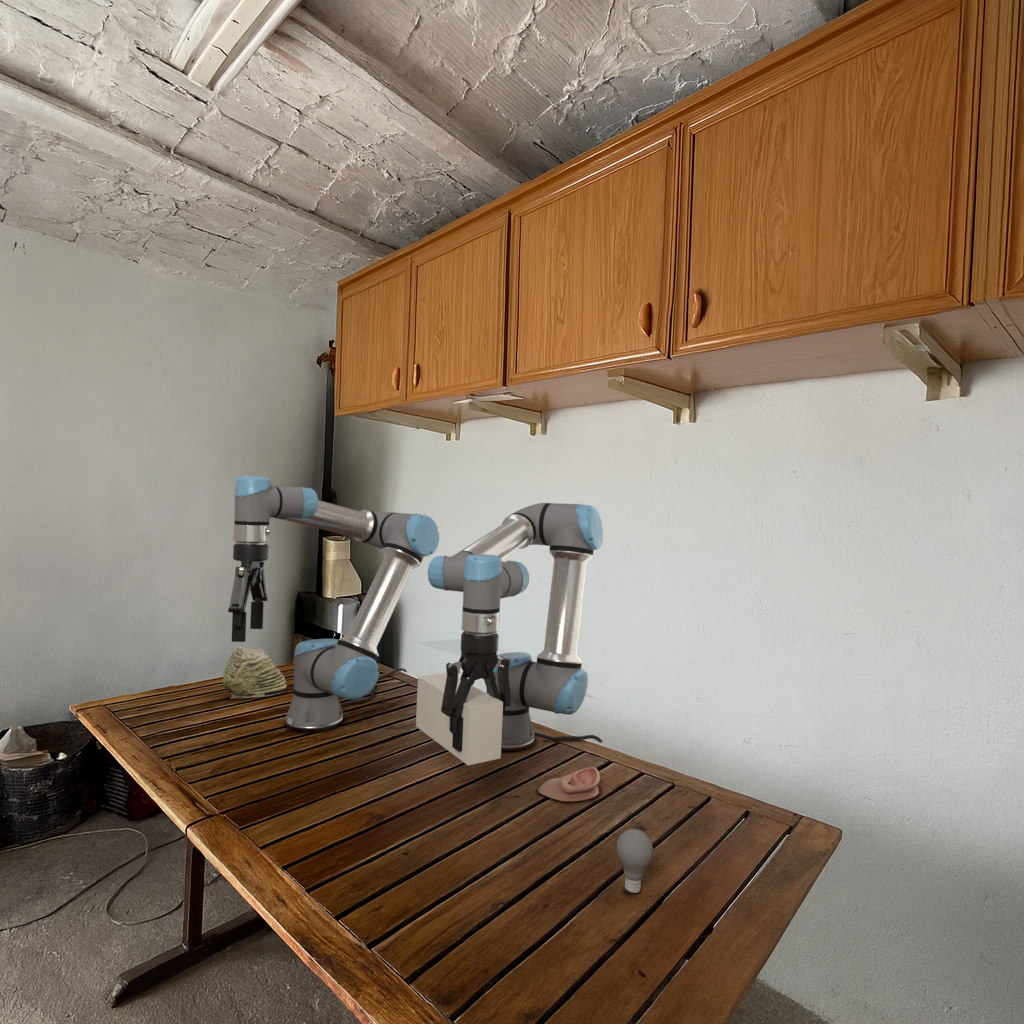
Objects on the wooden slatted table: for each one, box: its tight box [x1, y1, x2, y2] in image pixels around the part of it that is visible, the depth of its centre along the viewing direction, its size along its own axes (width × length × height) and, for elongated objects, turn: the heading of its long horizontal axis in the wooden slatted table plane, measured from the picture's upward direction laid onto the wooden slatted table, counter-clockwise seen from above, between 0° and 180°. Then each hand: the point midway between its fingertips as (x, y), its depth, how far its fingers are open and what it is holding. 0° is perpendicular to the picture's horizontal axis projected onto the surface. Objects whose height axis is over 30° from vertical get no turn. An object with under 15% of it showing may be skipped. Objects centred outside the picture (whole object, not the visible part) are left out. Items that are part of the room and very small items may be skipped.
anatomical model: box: [537, 766, 601, 802], centre depth 141 cm, size 13×4×12 cm
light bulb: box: [615, 828, 654, 894], centre depth 106 cm, size 6×6×10 cm
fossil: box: [222, 646, 288, 699], centre depth 198 cm, size 9×18×15 cm, turn 132°
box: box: [415, 672, 503, 766], centre depth 134 cm, size 24×8×11 cm, turn 34°
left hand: (247, 635), depth 146 cm, fingers open, 13 cm apart
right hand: (475, 745), depth 127 cm, fingers closed on box, 7 cm apart
